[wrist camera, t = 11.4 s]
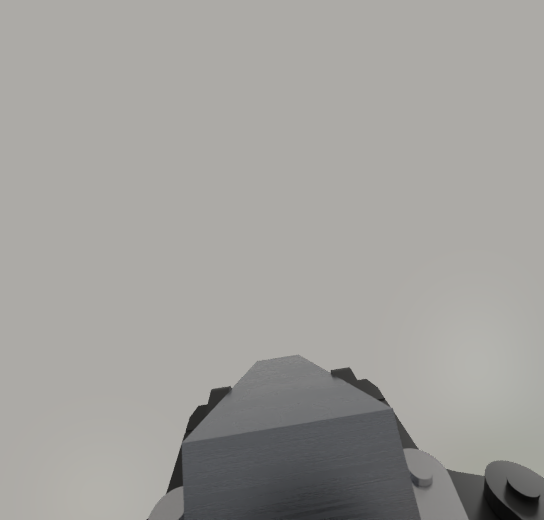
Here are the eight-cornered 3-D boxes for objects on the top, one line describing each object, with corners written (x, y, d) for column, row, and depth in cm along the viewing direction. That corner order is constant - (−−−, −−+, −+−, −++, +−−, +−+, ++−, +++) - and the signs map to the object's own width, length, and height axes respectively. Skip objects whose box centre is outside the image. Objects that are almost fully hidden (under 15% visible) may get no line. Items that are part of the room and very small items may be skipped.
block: (193, 775, 4) (181, 443, 5) (262, 407, 24) (257, 361, 25) (471, 719, 4) (392, 409, 5) (306, 400, 24) (298, 354, 25)
